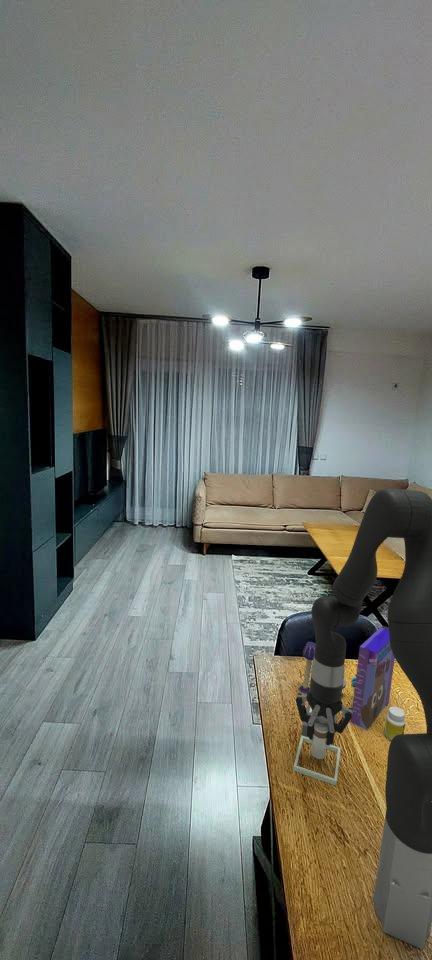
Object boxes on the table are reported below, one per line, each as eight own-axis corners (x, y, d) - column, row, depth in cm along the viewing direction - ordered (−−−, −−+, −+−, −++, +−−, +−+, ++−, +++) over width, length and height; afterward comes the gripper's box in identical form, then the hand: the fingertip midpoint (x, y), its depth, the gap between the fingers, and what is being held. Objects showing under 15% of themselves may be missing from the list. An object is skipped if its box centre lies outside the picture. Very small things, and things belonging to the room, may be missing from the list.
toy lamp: (313, 690, 133) (319, 641, 131) (313, 699, 128) (318, 649, 126) (298, 687, 134) (303, 638, 132) (297, 696, 130) (302, 646, 127)
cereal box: (366, 734, 116) (377, 653, 112) (350, 725, 119) (359, 646, 115) (388, 704, 129) (398, 630, 125) (372, 696, 132) (382, 625, 128)
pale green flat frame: (335, 789, 97) (336, 781, 97) (292, 773, 101) (293, 766, 101) (339, 754, 108) (340, 747, 107) (300, 742, 111) (301, 735, 111)
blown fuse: (324, 761, 102) (328, 729, 100) (309, 756, 103) (313, 724, 102) (326, 750, 105) (330, 719, 104) (311, 745, 106) (315, 715, 105)
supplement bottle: (404, 747, 112) (408, 719, 110) (385, 744, 112) (389, 715, 111) (400, 734, 116) (404, 707, 115) (382, 731, 117) (385, 703, 116)
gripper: (294, 676, 100) (288, 741, 102) (357, 694, 95) (348, 761, 98) (300, 660, 107) (293, 721, 109) (358, 675, 102) (350, 739, 104)
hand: (319, 740), depth 103 cm, fingers closed on blown fuse, 3 cm apart
